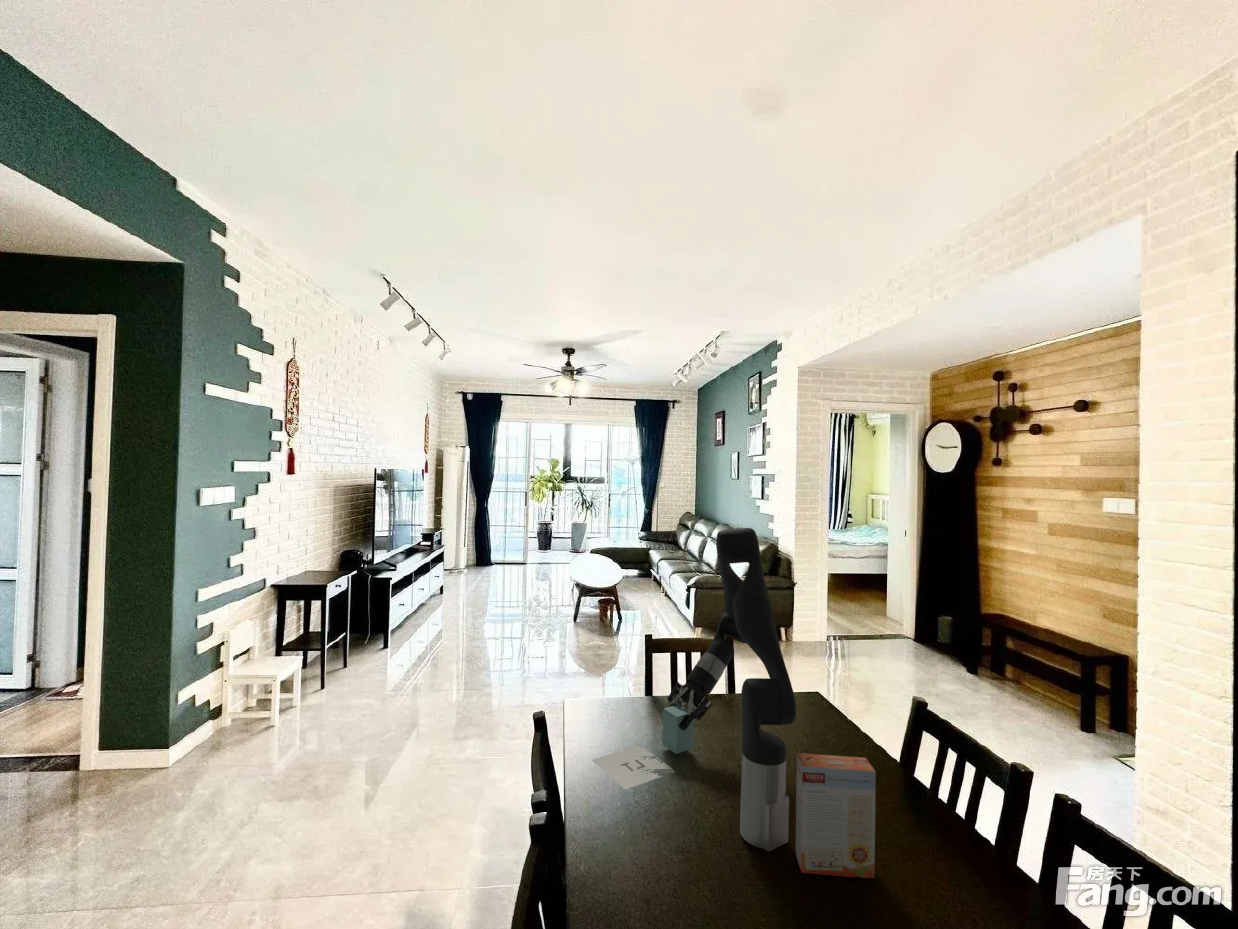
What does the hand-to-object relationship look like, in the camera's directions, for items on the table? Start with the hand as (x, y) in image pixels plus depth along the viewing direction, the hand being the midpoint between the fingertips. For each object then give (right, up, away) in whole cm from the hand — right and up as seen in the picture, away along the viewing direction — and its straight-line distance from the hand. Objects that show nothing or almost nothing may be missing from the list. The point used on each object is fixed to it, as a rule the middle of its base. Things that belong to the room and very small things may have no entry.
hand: (673, 723), depth 154 cm
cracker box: (+27, -9, -43) cm, 52 cm away
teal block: (+1, -7, +1) cm, 7 cm away
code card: (-11, -8, -7) cm, 16 cm away
